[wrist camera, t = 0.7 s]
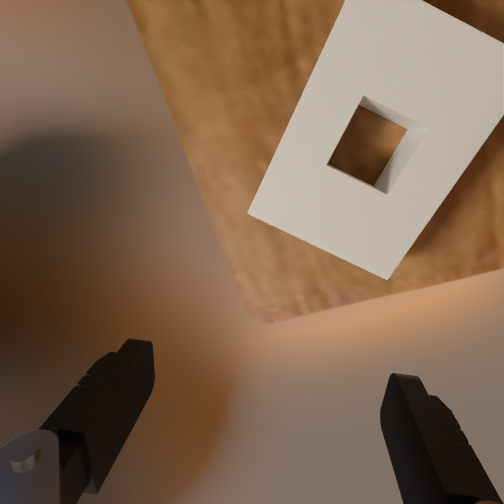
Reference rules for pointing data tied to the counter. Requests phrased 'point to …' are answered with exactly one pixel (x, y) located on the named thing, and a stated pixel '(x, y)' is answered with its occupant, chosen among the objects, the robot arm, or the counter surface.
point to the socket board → (394, 109)
